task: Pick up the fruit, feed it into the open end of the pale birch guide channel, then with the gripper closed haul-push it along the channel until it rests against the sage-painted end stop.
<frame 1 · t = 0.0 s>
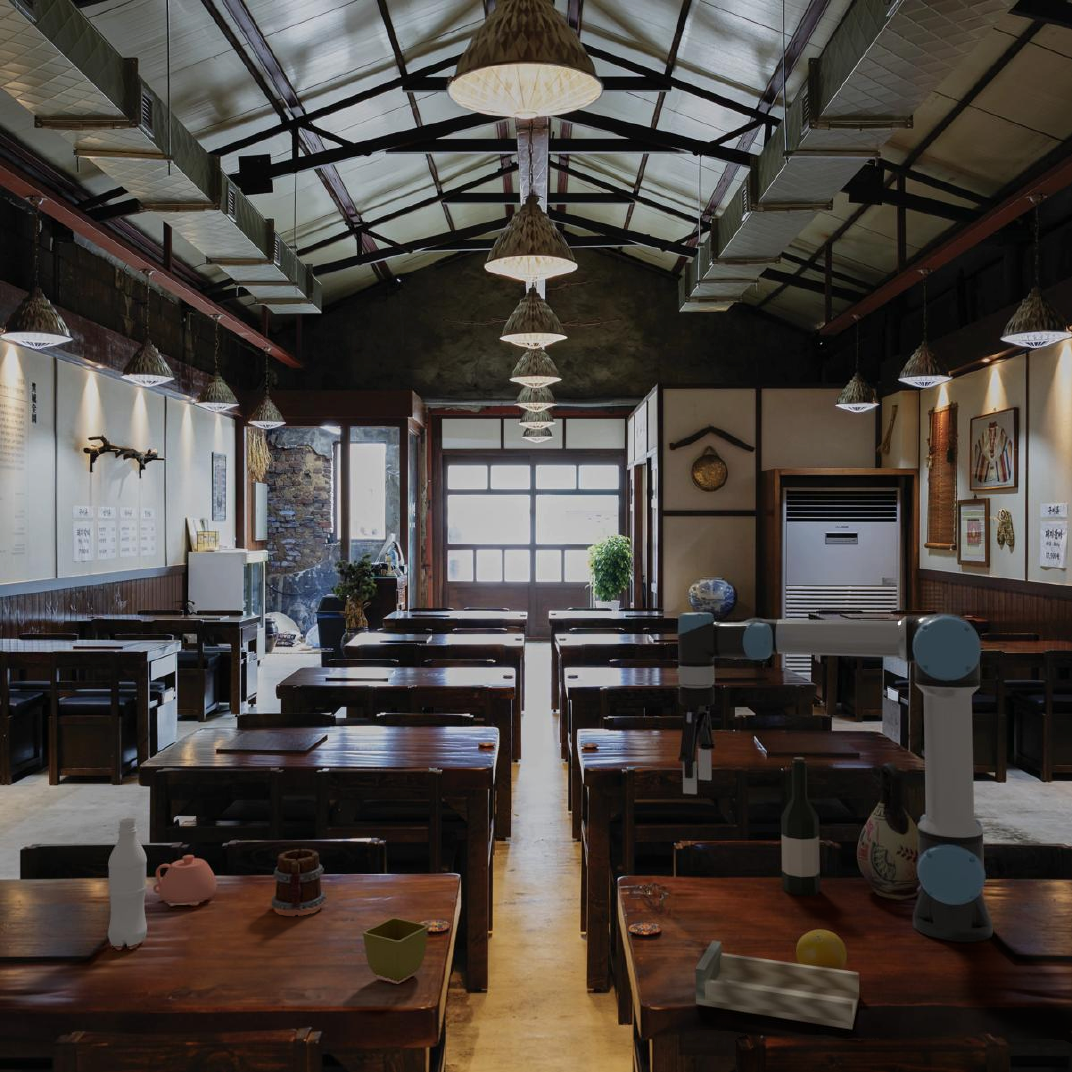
hand: (697, 786, 212), 28 cm above the table, fingers open, 13 cm apart
channel: (782, 1000, 172), on the table
sugar bowl: (184, 902, 226), on the table
mug: (298, 912, 219), on the table
flower pot: (396, 979, 183), on the table
water bottle: (127, 947, 200), on the table
ceramic jug: (894, 895, 226), on the table
wine bottle: (801, 890, 230), on the table
fruit: (821, 976, 182), on the table
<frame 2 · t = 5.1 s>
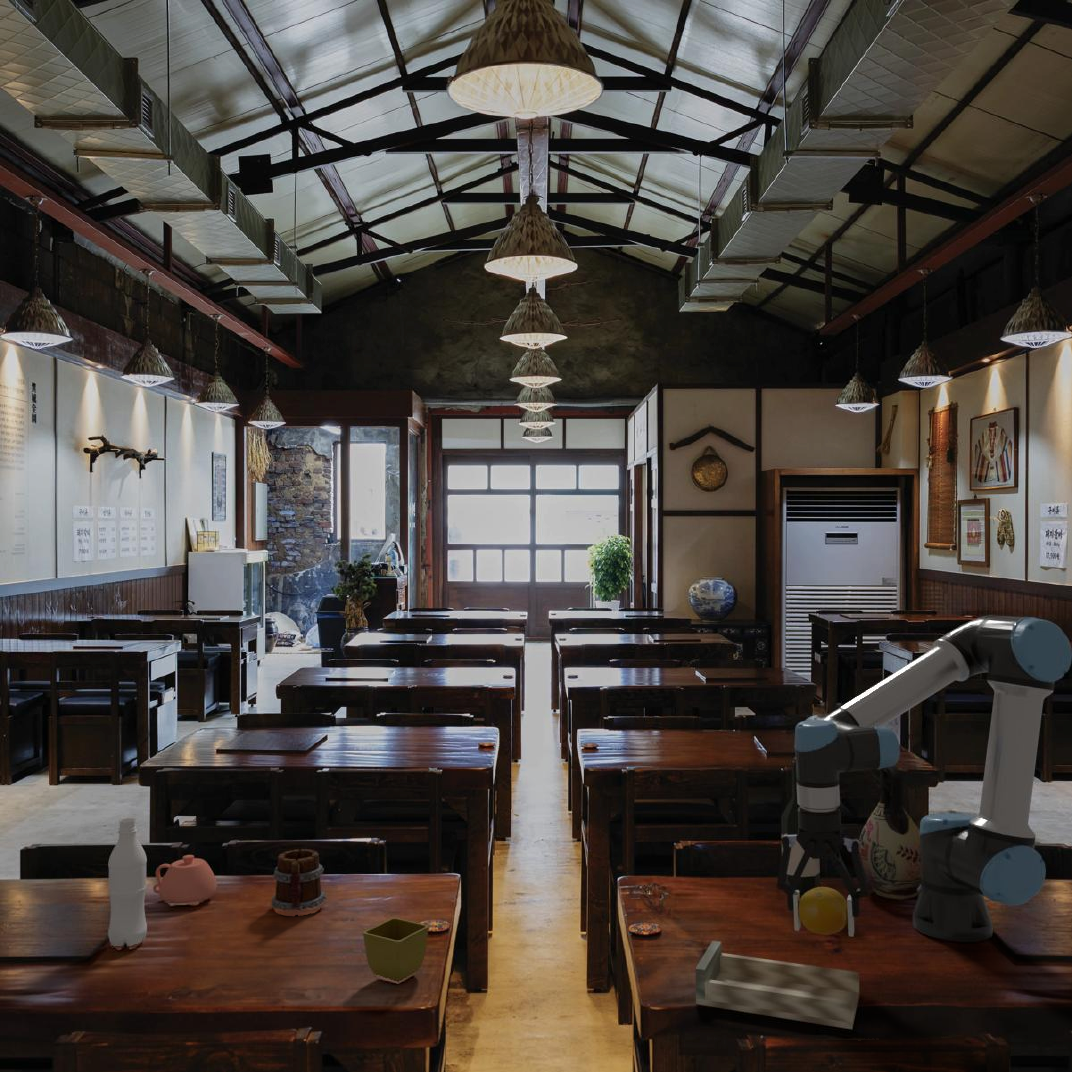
hand: (824, 930, 183), 8 cm above the table, fingers closed on fruit, 9 cm apart
fruit: (824, 933, 183), point 7 cm above the table, touching gripper
everything else where it was.
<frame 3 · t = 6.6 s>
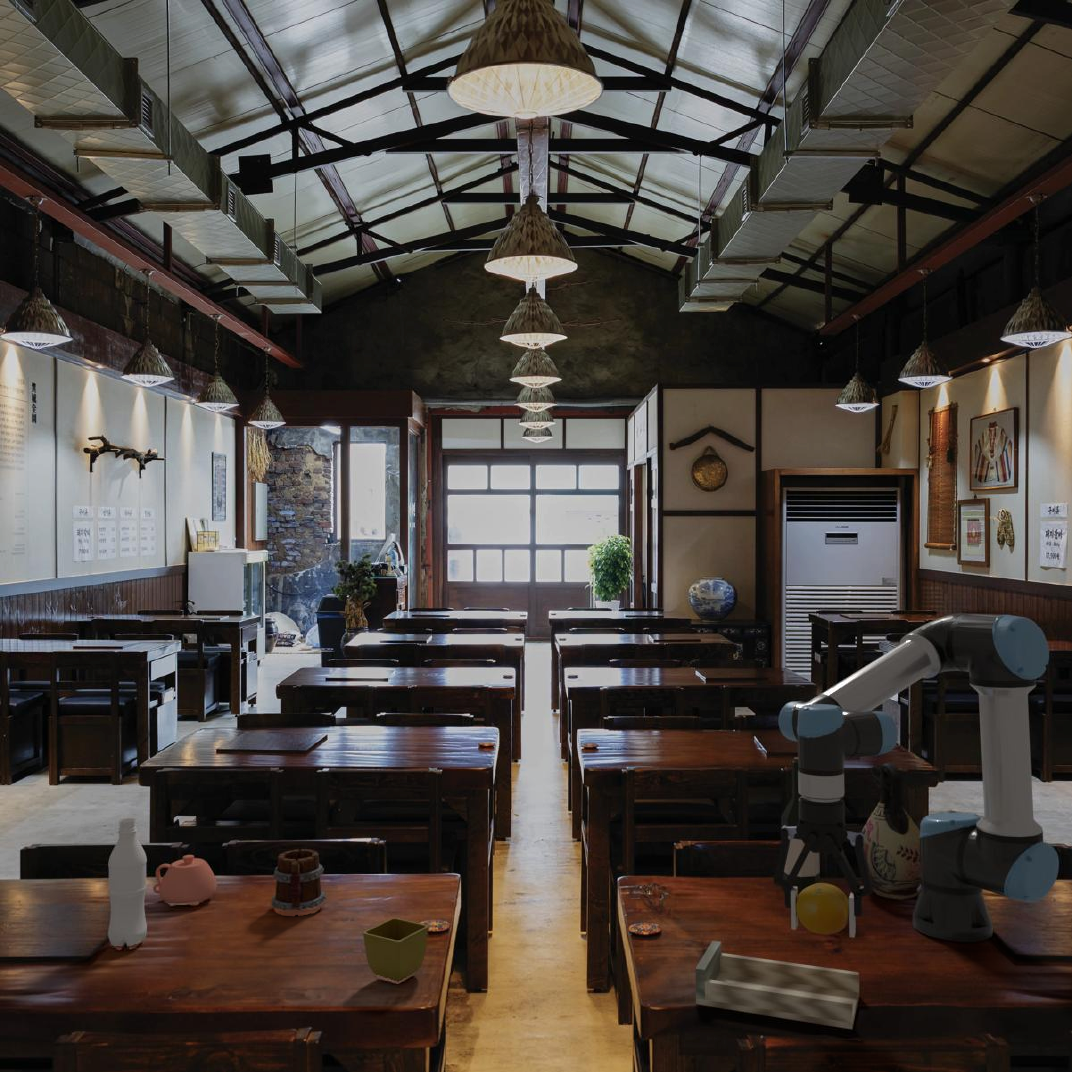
hand: (823, 930, 170), 13 cm above the table, fingers closed on fruit, 9 cm apart
fruit: (823, 933, 170), point 12 cm above the table, touching gripper
everything else where it was.
when the fingers open (3 cm above the table, at t = 8.5 s): fruit drops 2 cm, resting on channel.
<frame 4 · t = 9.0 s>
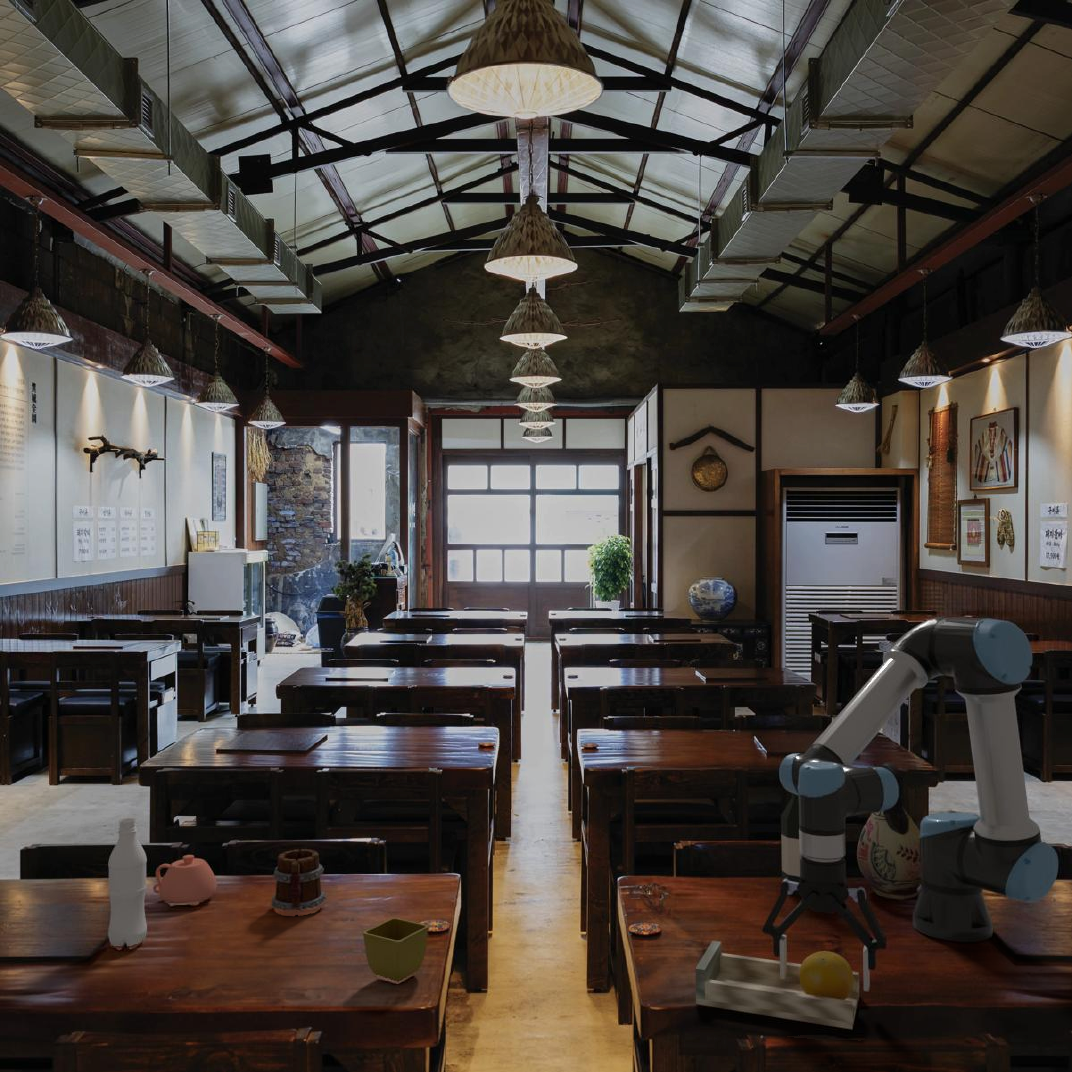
hand: (824, 982, 170), 4 cm above the table, fingers open, 13 cm apart
fruit: (826, 1002, 170), point 1 cm above the table, touching channel
everything else where it was.
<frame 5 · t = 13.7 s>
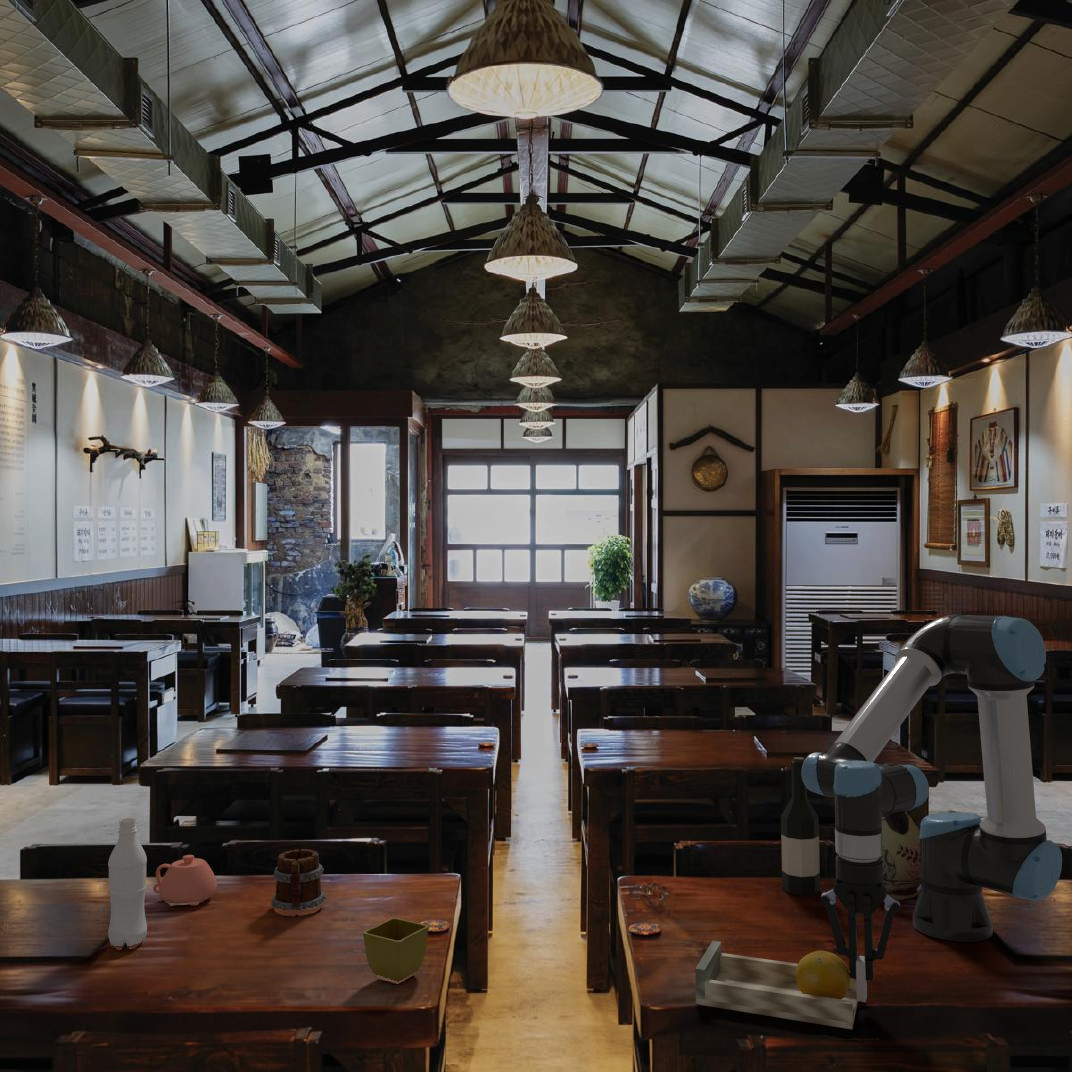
hand: (861, 998, 167), 2 cm above the table, fingers closed
fruit: (823, 1002, 170), point 1 cm above the table, touching gripper
everything else where it was.
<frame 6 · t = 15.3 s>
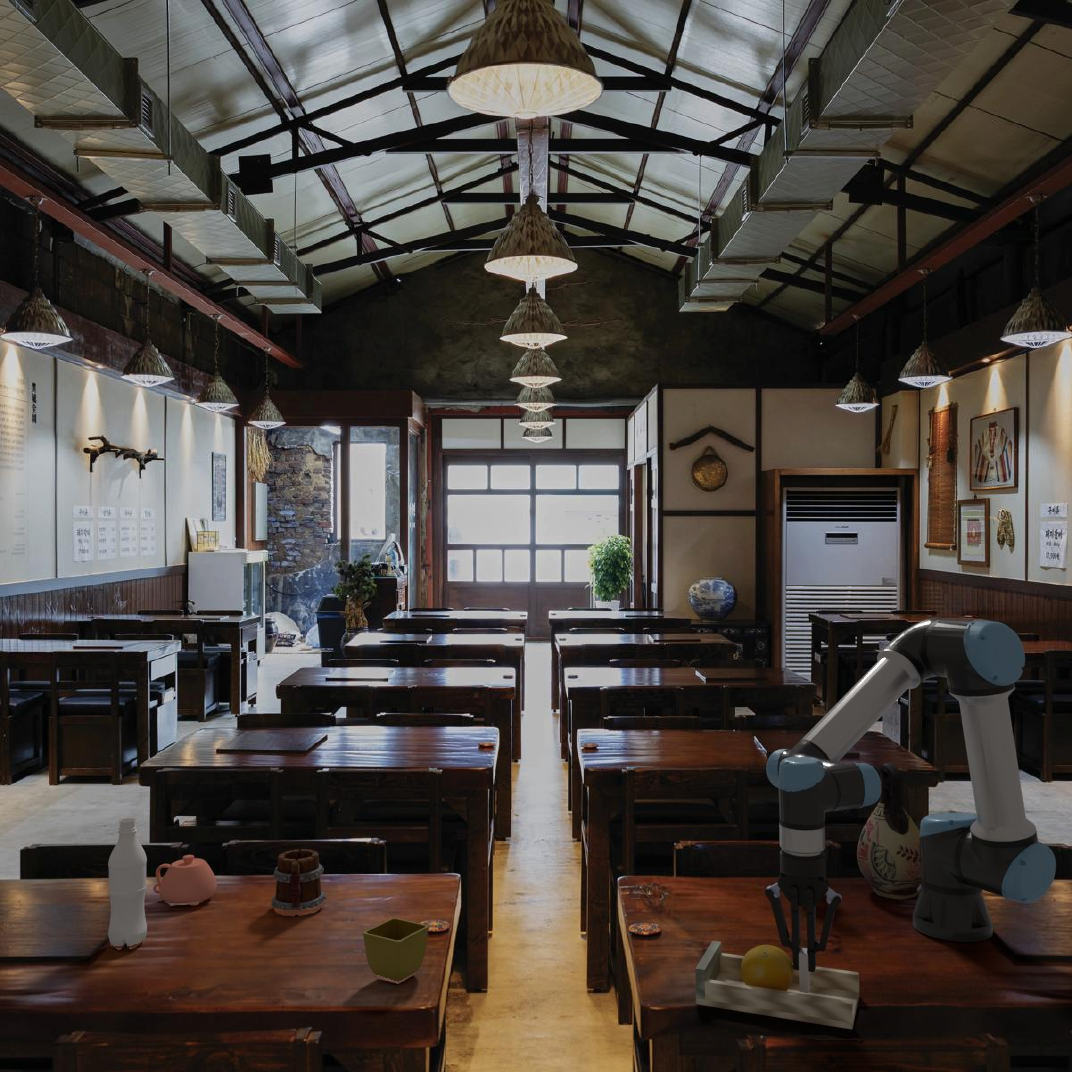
hand: (804, 989, 171), 3 cm above the table, fingers closed
fruit: (767, 995, 173), point 1 cm above the table, touching channel, gripper
everything else where it was.
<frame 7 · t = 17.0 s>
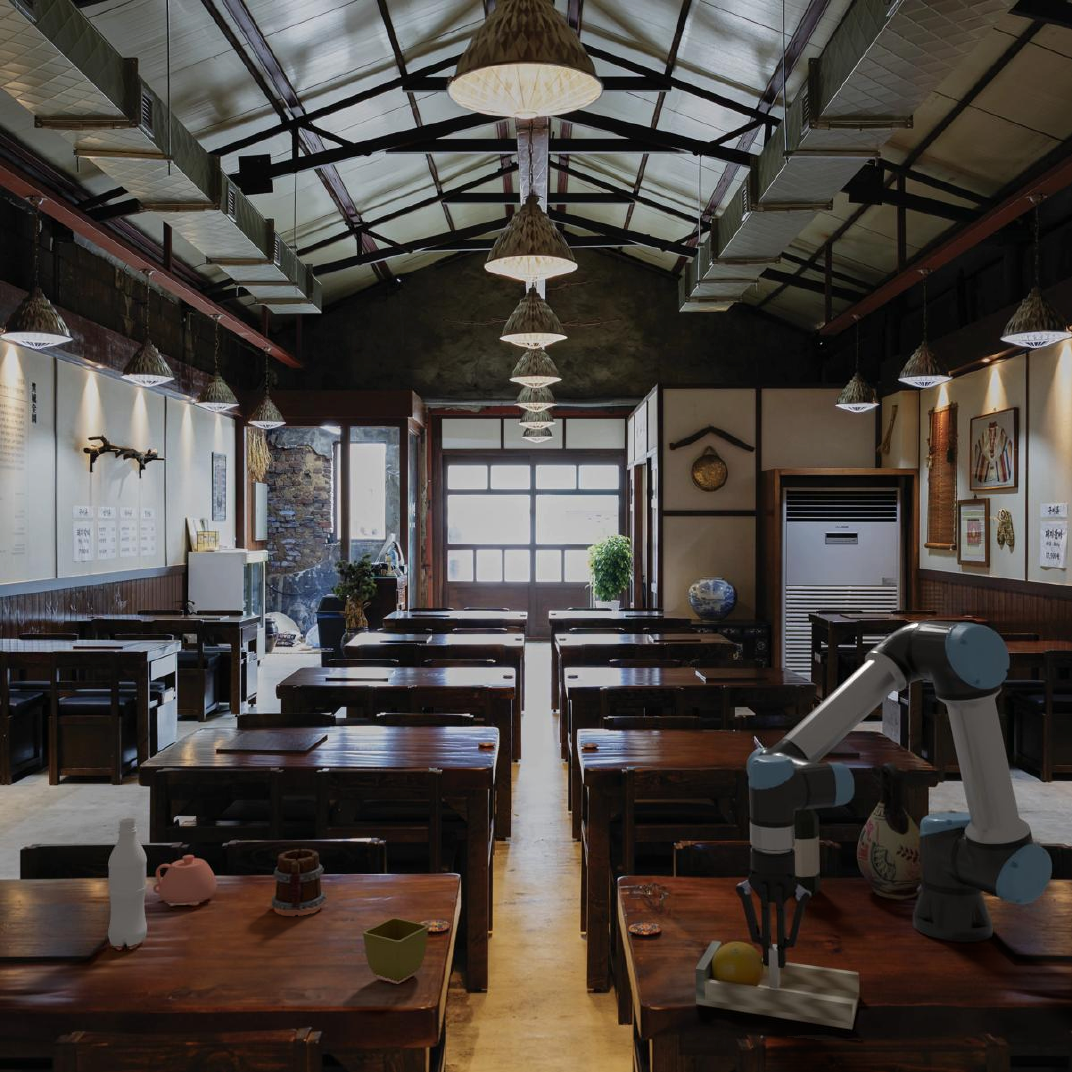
hand: (774, 985, 173), 2 cm above the table, fingers closed
fruit: (738, 991, 174), point 1 cm above the table, touching channel, gripper
everything else where it was.
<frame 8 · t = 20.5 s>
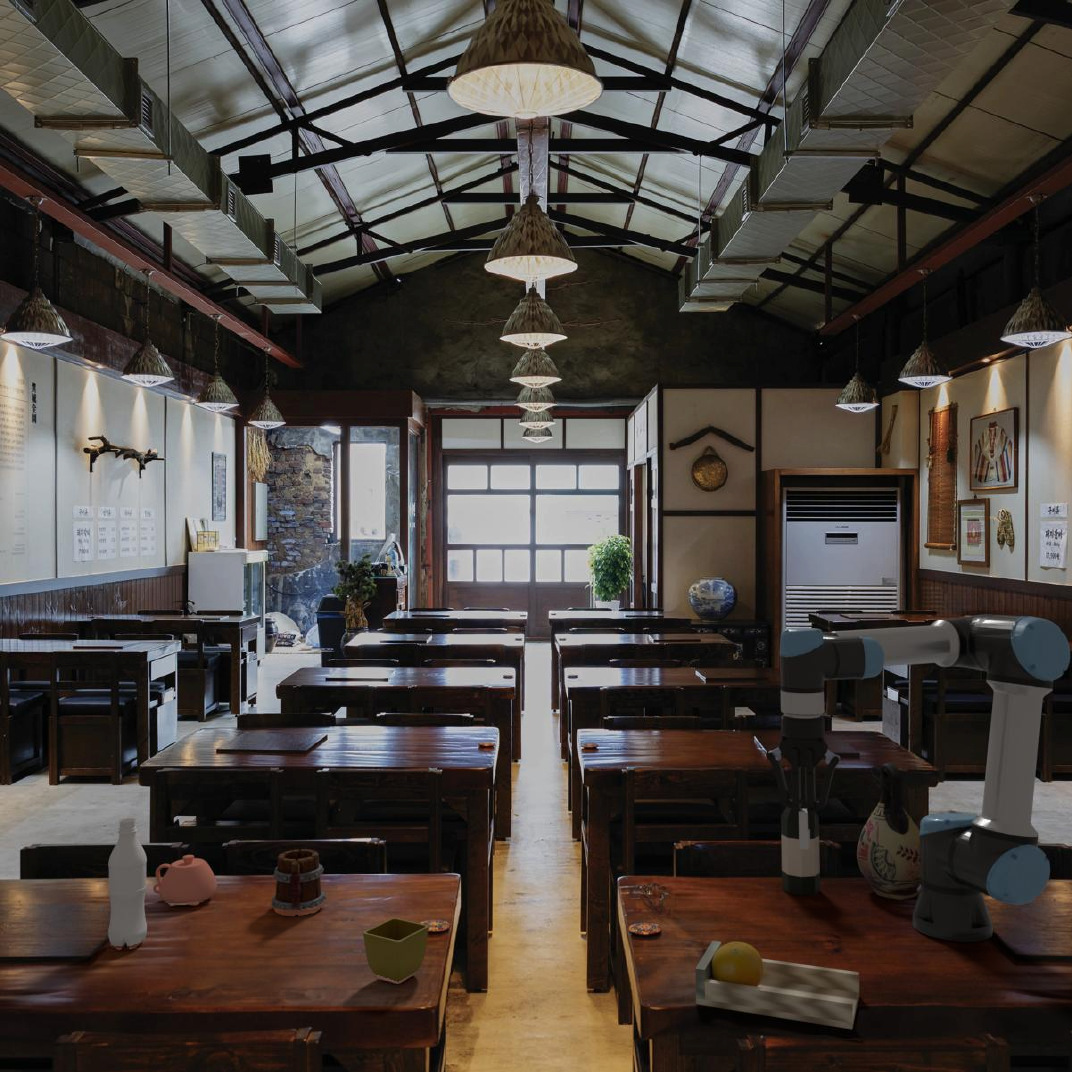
hand: (804, 846, 179), 24 cm above the table, fingers closed
fruit: (737, 991, 174), point 1 cm above the table, touching channel
everything else where it was.
at the end: fruit inside the target area on the channel (1.3 cm from its centre), point 0.8 cm above the channel's base; the gripper is holding nothing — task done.
